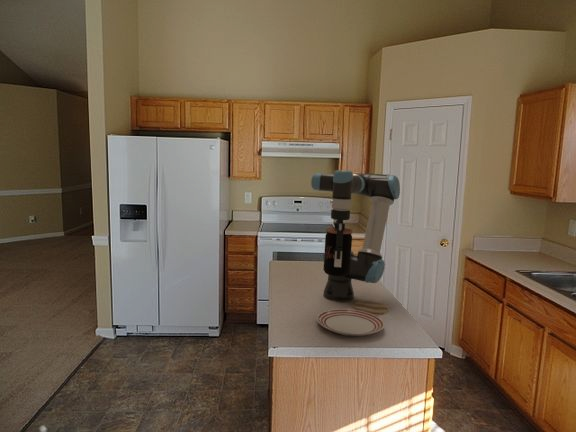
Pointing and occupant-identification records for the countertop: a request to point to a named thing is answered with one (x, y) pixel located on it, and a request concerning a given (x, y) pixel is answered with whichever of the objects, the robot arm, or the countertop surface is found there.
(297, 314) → the countertop surface
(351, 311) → the dinner plate
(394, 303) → the countertop surface
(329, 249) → the coffee jar
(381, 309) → the cork trivet
